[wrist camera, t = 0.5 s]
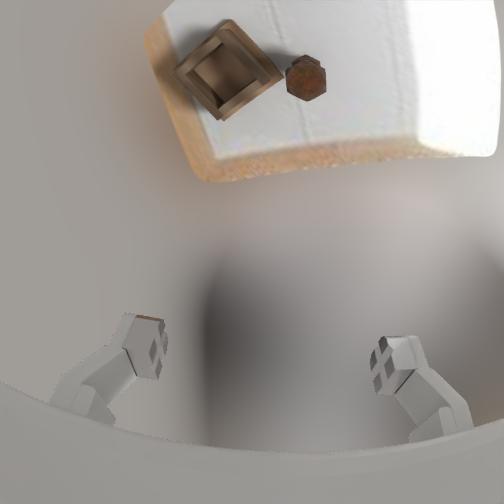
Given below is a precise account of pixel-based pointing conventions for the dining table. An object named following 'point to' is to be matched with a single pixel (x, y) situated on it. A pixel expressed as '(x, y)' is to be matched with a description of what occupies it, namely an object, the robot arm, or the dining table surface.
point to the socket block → (227, 71)
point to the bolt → (306, 78)
